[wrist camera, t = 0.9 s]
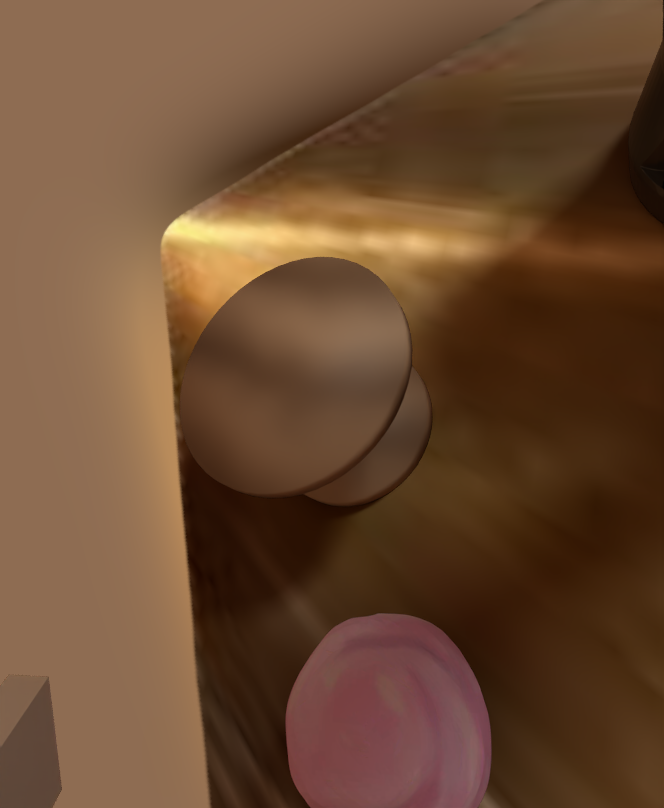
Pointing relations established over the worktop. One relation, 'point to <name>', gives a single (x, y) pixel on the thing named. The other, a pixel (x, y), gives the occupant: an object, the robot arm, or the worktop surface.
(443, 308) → the worktop surface
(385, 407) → the cake stand
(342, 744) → the cupcake
